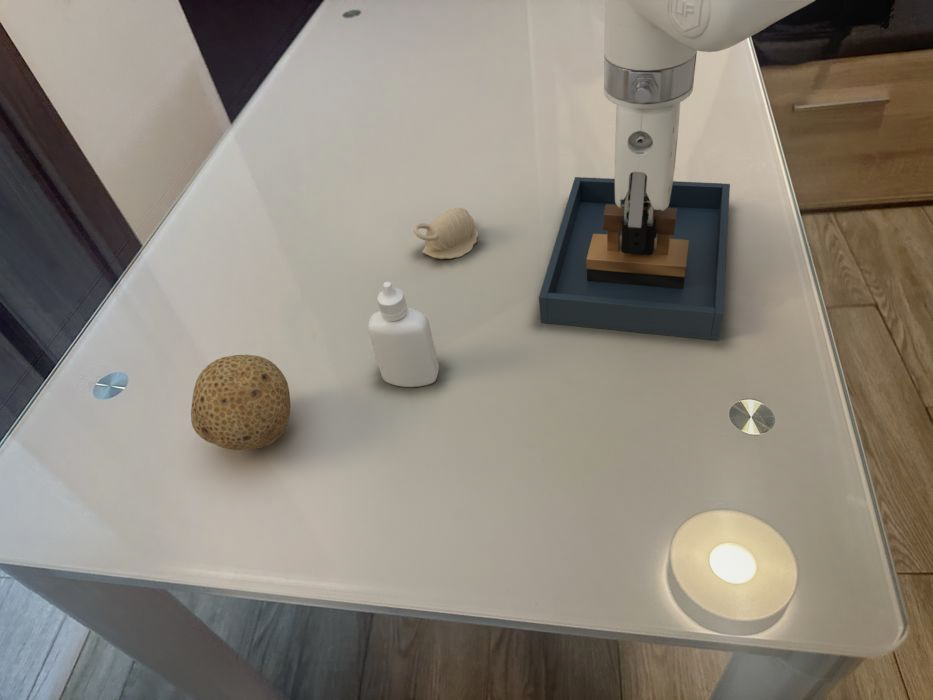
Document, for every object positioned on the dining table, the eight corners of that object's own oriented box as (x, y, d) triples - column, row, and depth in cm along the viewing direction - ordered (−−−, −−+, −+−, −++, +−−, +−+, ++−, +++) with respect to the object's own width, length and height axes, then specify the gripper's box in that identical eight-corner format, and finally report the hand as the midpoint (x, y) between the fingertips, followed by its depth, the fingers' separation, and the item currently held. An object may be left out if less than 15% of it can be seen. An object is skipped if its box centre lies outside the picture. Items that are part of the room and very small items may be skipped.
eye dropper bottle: (404, 351, 73) (380, 260, 65) (446, 371, 71) (427, 280, 62) (376, 378, 71) (347, 288, 63) (419, 400, 68) (394, 310, 60)
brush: (686, 263, 76) (693, 201, 71) (683, 290, 73) (690, 227, 68) (592, 256, 79) (593, 195, 73) (586, 282, 76) (586, 221, 71)
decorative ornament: (487, 243, 84) (483, 206, 80) (427, 273, 82) (419, 235, 78) (469, 228, 87) (464, 190, 83) (410, 256, 84) (402, 219, 80)
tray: (725, 209, 83) (730, 183, 80) (718, 340, 69) (723, 313, 66) (575, 201, 88) (574, 176, 85) (540, 322, 74) (538, 297, 71)
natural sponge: (212, 488, 64) (165, 420, 57) (214, 415, 70) (172, 345, 63) (311, 462, 65) (276, 391, 58) (304, 391, 71) (272, 320, 64)
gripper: (688, 120, 54) (669, 299, 67) (700, 32, 64) (682, 202, 78) (589, 118, 56) (590, 291, 69) (616, 33, 67) (612, 198, 80)
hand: (638, 243), depth 73 cm, fingers closed on brush
